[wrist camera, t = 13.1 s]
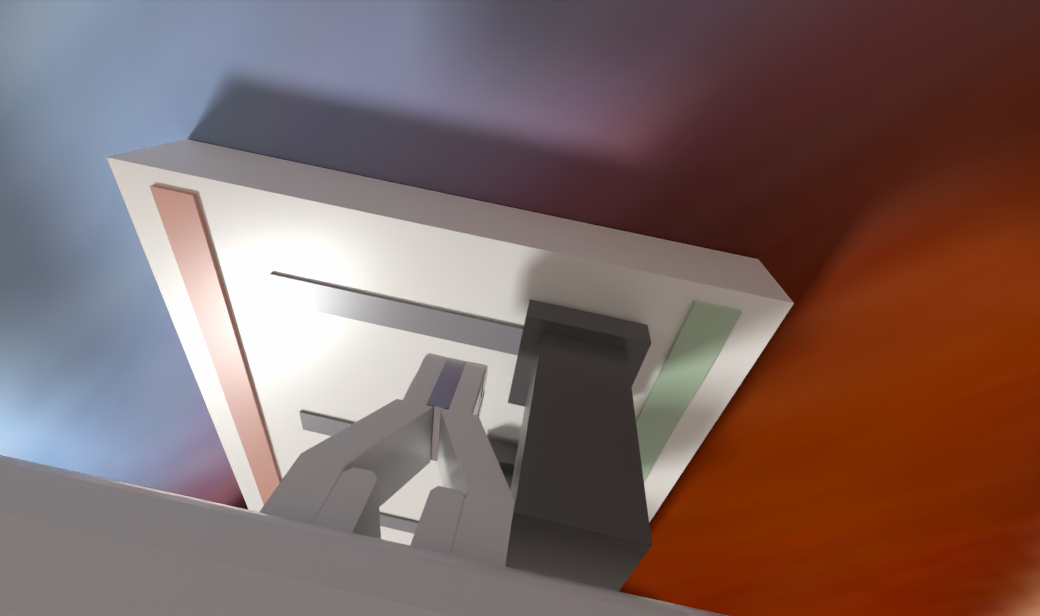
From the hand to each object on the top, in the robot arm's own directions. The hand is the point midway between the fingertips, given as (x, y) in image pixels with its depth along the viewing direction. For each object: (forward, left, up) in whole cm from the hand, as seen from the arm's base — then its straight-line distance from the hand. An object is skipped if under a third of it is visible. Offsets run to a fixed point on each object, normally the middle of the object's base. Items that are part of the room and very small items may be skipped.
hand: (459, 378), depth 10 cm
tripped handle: (+3, 0, -2) cm, 4 cm away
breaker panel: (-1, -6, -5) cm, 8 cm away
